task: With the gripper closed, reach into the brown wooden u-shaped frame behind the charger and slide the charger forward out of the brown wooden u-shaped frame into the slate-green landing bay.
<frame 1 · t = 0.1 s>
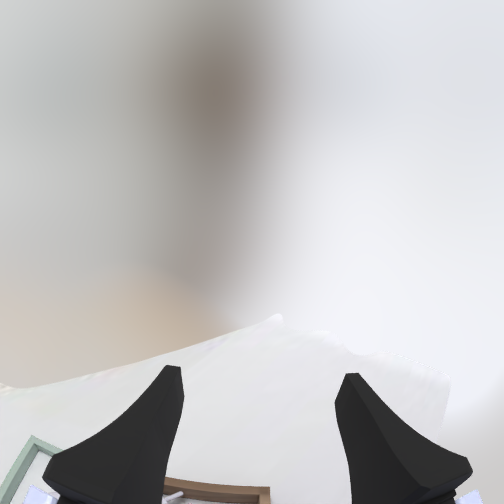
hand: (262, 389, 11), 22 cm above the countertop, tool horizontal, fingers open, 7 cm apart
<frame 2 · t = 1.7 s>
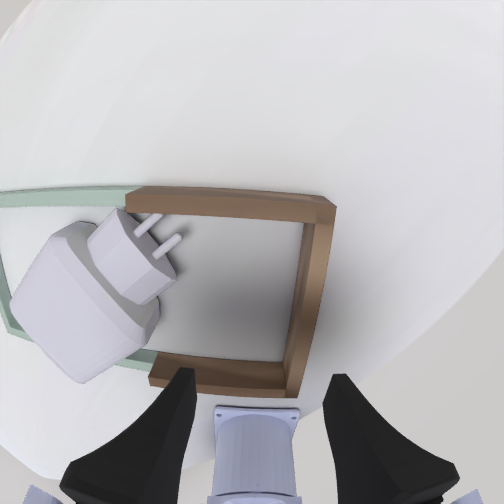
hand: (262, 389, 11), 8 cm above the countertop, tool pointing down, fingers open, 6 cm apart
brown wooden u-shaped frame: (227, 293, 19), on the countertop
charger: (112, 274, 20), on the countertop, touching brown wooden u-shaped frame, landing bay
landing bay: (57, 275, 19), on the countertop
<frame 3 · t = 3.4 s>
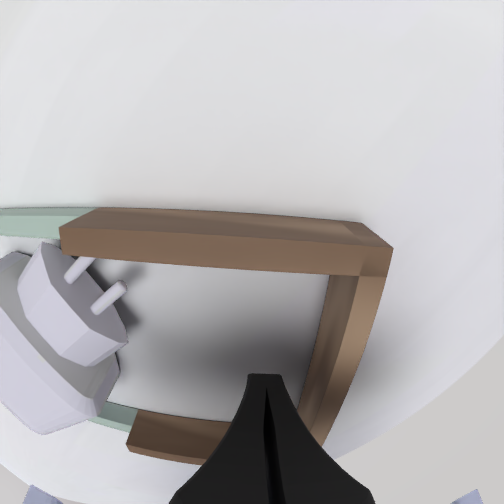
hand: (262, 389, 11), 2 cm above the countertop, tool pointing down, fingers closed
brown wooden u-shaped frame: (221, 354, 13), on the countertop
charger: (61, 316, 14), on the countertop, touching brown wooden u-shaped frame, landing bay
landing bay: (14, 314, 13), on the countertop
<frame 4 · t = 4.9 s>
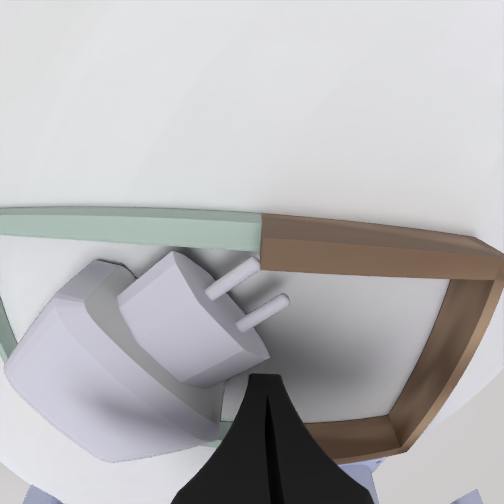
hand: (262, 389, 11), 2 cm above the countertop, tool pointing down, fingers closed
brown wooden u-shaped frame: (355, 356, 13), on the countertop
charger: (150, 332, 14), on the countertop, touching gripper, landing bay
landing bay: (93, 335, 13), on the countertop
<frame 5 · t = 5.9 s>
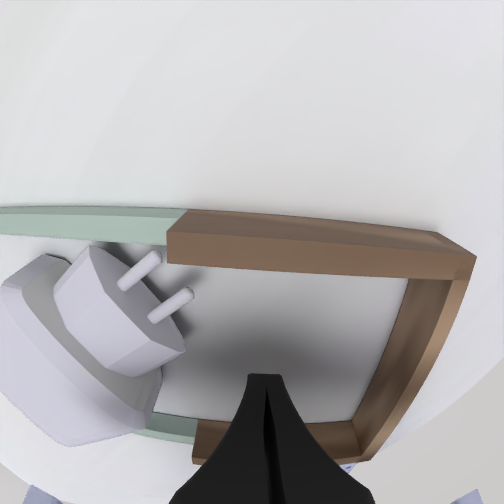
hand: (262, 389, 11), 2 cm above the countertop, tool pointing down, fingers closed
brown wooden u-shaped frame: (303, 357, 13), on the countertop
charger: (96, 323, 14), on the countertop
landing bay: (55, 325, 13), on the countertop
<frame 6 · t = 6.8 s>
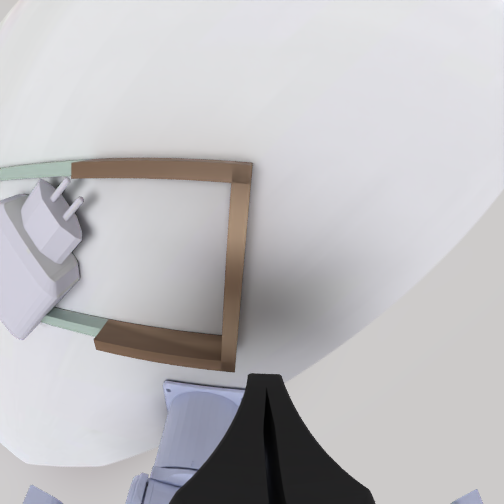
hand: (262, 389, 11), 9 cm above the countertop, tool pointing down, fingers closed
brown wooden u-shaped frame: (165, 259, 19), on the countertop
charger: (47, 240, 20), on the countertop, touching landing bay
landing bay: (25, 244, 19), on the countertop
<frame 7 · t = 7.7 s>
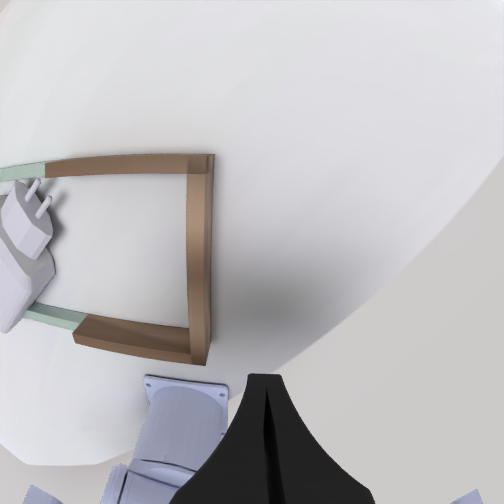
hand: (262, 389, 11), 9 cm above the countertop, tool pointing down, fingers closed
brown wooden u-shaped frame: (136, 253, 19), on the countertop
charger: (26, 238, 20), on the countertop
landing bay: (11, 243, 19), on the countertop
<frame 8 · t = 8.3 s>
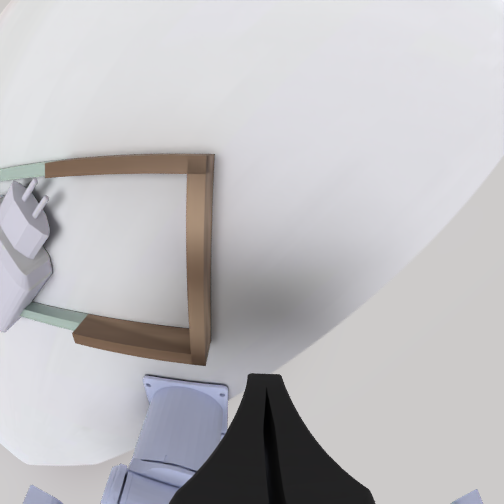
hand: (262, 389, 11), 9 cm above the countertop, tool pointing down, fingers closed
brown wooden u-shaped frame: (136, 253, 19), on the countertop
charger: (24, 238, 20), on the countertop
landing bay: (11, 243, 19), on the countertop
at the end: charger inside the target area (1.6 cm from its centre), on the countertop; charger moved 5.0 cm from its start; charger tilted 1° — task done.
